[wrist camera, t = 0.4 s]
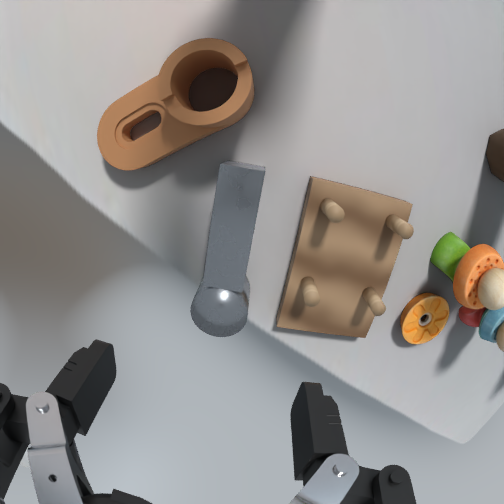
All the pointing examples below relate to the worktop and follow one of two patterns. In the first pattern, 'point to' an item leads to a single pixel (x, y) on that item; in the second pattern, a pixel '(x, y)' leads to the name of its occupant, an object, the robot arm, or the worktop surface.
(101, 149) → the bracket
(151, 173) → the worktop surface
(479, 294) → the wooden stacking toy
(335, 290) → the rack
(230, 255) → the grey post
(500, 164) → the beer bottle
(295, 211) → the worktop surface
